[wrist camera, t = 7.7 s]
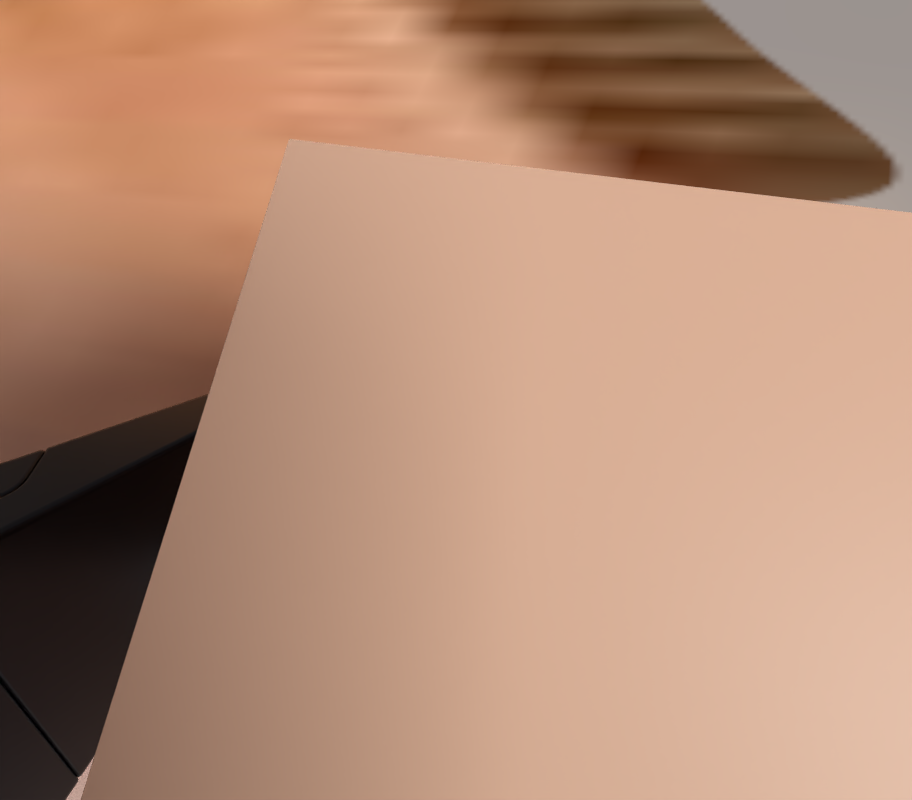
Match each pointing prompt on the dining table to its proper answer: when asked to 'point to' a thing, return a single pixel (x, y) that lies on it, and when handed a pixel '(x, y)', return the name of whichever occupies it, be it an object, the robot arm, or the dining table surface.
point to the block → (538, 501)
